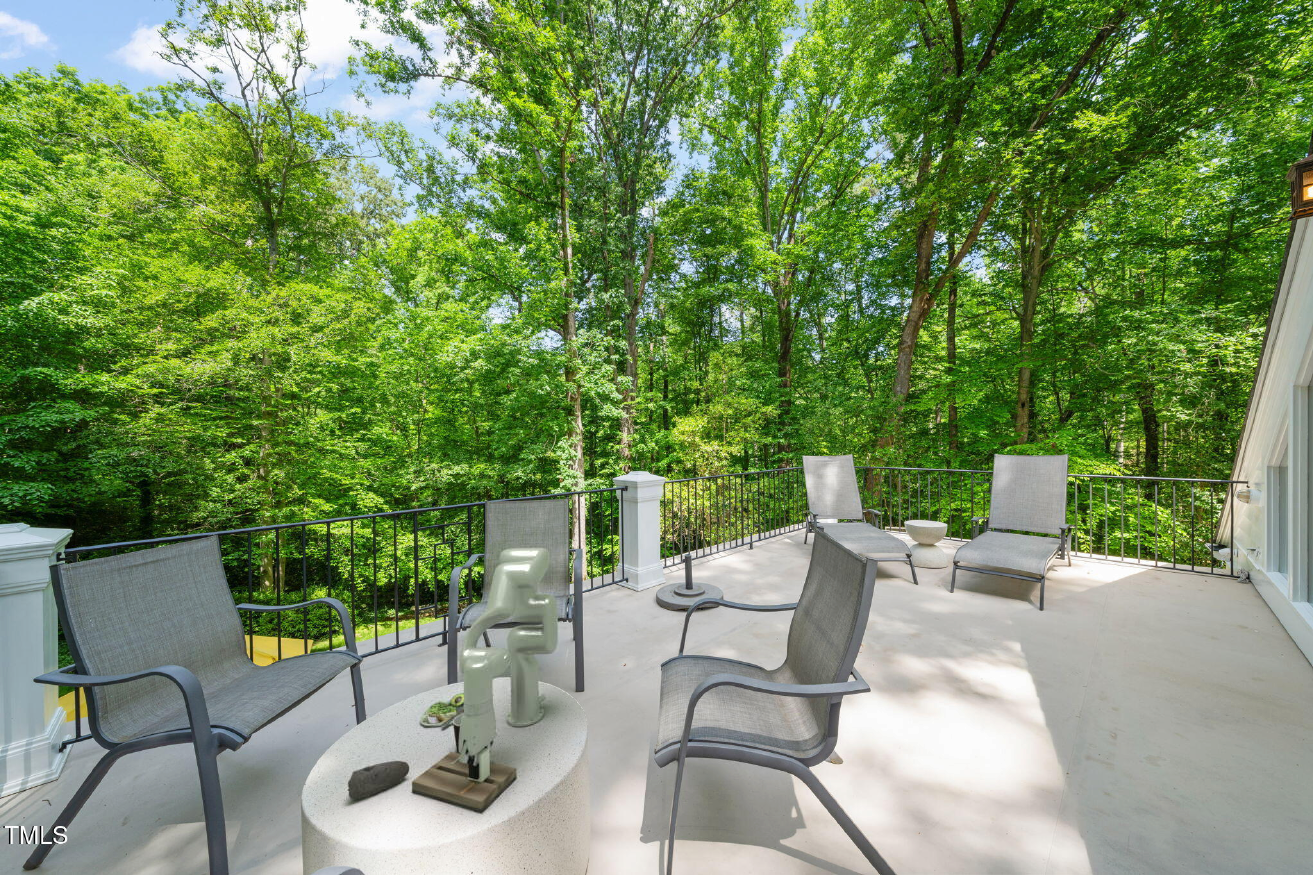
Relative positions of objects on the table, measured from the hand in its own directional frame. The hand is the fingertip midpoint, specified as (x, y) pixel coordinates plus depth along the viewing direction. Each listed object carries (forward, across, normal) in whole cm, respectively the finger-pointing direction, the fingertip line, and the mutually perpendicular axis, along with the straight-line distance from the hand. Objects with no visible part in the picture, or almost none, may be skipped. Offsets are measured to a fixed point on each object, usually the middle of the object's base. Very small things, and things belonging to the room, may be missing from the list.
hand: (479, 772), depth 130 cm
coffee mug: (+5, -14, -15) cm, 21 cm away
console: (+4, 0, -5) cm, 7 cm away
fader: (+3, 0, 0) cm, 3 cm away
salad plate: (+5, -29, -40) cm, 49 cm away
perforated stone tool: (+5, +9, -27) cm, 29 cm away
